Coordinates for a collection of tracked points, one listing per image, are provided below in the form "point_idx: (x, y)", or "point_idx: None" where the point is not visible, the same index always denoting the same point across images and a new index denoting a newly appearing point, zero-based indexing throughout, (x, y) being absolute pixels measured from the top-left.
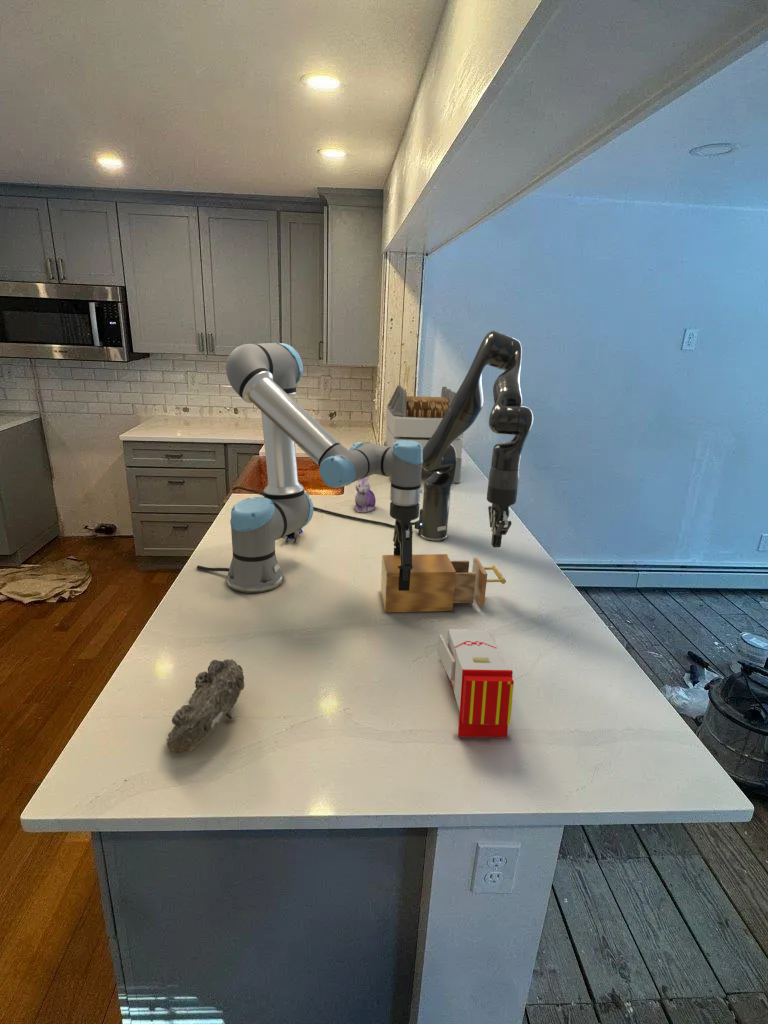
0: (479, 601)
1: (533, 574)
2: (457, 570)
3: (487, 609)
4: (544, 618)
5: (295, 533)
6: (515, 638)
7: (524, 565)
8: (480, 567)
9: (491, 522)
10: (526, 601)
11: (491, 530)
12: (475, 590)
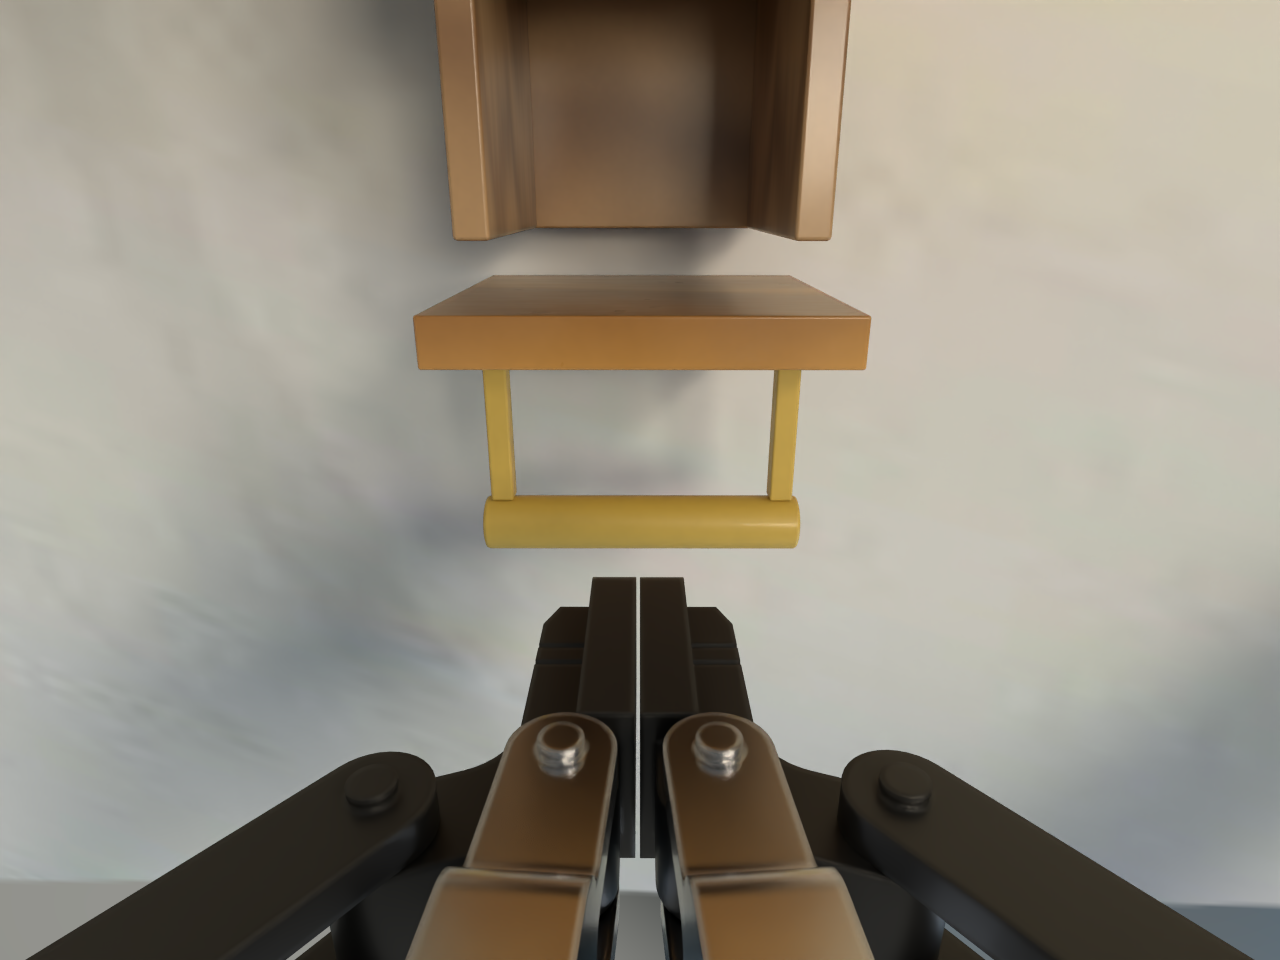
0: (504, 278)
1: (994, 785)
2: (784, 93)
3: None
4: (411, 666)
5: None
6: (136, 420)
7: (1138, 774)
8: (589, 332)
9: (730, 888)
10: None
11: (730, 723)
12: (645, 280)
